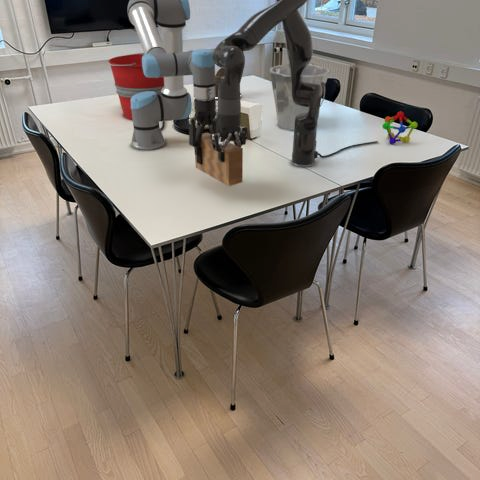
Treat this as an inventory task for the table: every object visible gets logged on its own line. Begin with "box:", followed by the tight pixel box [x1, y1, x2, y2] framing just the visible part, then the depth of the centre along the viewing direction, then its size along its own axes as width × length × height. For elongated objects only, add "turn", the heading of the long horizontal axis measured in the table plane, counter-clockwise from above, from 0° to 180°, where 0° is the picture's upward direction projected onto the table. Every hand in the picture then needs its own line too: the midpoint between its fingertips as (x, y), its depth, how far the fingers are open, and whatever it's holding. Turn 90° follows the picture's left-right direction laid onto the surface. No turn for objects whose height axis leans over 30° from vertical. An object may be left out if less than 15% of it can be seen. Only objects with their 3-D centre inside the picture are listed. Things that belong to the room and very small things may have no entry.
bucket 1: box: [105, 52, 164, 121], centre depth 241 cm, size 35×35×30 cm
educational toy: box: [382, 110, 418, 145], centre depth 207 cm, size 16×13×15 cm
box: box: [194, 132, 244, 187], centre depth 159 cm, size 21×6×12 cm, turn 38°
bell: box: [215, 67, 242, 97], centre depth 278 cm, size 19×26×20 cm
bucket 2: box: [269, 64, 330, 131], centre depth 226 cm, size 30×30×28 cm
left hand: (207, 161), depth 165 cm, fingers closed on box, 6 cm apart
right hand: (229, 159), depth 153 cm, fingers closed on box, 6 cm apart
